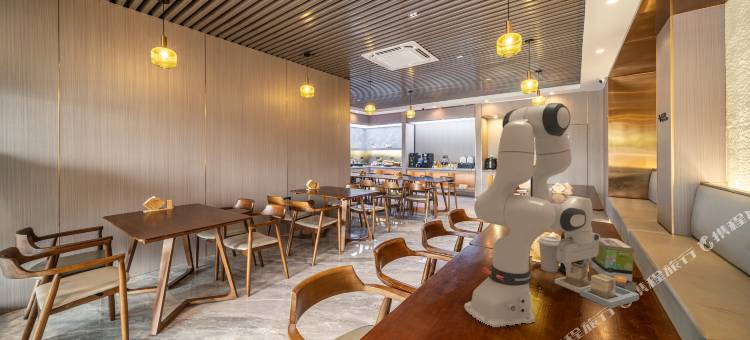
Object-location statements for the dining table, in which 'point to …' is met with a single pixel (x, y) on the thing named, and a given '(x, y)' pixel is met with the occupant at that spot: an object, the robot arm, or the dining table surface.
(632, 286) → the dark grey square housing
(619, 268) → the tea box
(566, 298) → the dining table surface
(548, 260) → the coffee cup
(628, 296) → the grey hollow frame
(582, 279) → the block
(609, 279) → the seated block
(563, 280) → the tray
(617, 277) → the button
